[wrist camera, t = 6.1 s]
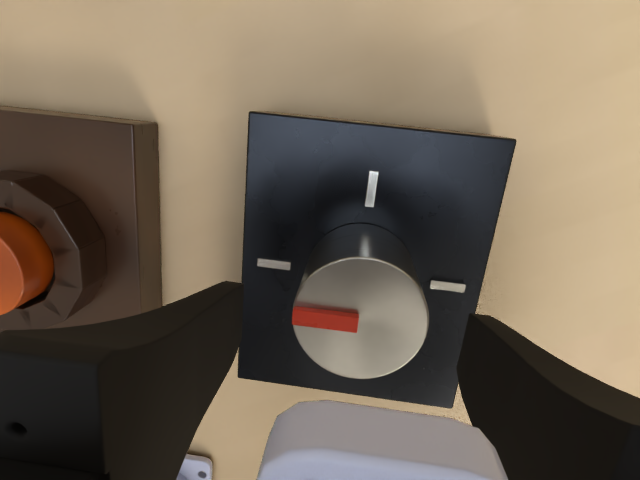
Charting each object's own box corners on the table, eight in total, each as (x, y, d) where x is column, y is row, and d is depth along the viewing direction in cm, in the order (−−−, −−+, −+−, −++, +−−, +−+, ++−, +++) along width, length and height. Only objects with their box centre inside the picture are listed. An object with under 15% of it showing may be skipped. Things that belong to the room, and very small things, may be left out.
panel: (440, 369, 21) (453, 412, 18) (253, 343, 22) (235, 380, 19) (492, 134, 18) (519, 139, 15) (265, 110, 18) (247, 111, 15)
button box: (163, 347, 23) (123, 394, 19) (-8, 322, 23) (-80, 364, 19) (158, 122, 19) (107, 125, 15) (-45, 100, 20) (-143, 97, 16)
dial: (422, 229, 16) (442, 269, 12) (404, 327, 18) (418, 393, 13) (311, 217, 16) (295, 252, 12) (303, 314, 18) (286, 375, 14)
